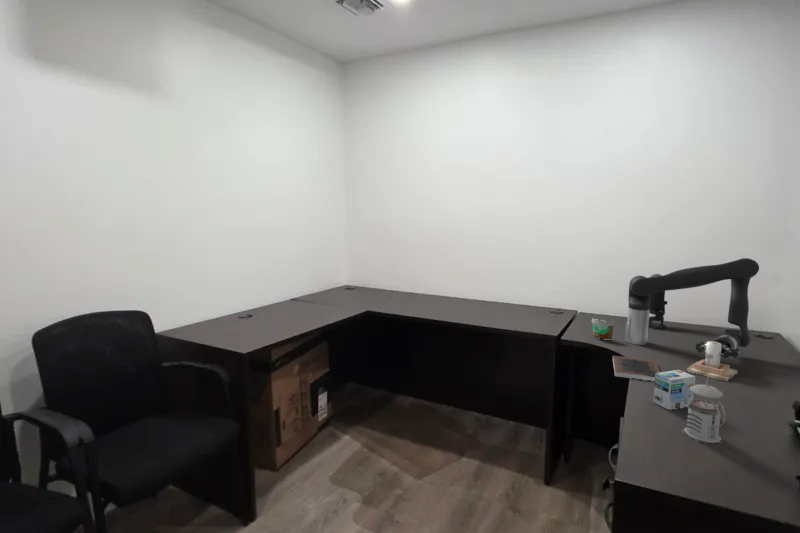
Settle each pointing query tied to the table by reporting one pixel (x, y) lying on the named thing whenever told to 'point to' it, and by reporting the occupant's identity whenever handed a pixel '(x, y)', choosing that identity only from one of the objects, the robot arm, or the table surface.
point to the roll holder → (712, 370)
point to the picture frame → (635, 368)
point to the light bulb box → (673, 389)
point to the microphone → (657, 308)
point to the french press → (704, 427)
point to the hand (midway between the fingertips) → (712, 353)
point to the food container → (602, 328)
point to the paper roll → (715, 350)
